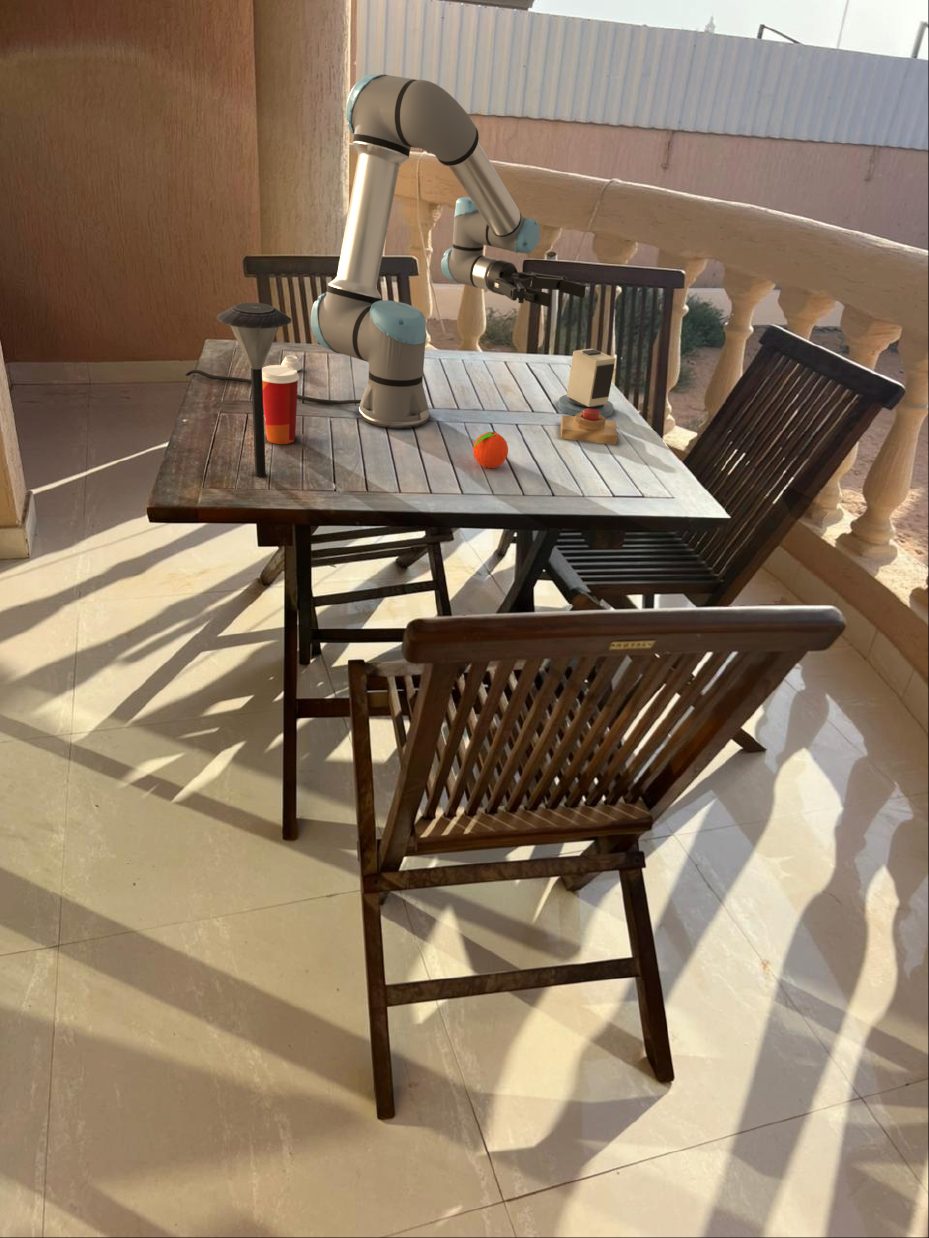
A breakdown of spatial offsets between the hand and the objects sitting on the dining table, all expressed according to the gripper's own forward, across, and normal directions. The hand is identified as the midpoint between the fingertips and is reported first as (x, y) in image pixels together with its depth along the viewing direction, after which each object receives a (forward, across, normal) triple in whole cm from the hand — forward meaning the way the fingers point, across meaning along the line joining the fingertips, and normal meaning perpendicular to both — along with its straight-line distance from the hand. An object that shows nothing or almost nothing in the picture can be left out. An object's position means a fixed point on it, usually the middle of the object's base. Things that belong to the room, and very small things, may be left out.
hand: (567, 296), depth 200 cm
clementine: (+18, +46, -23) cm, 54 cm away
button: (+19, +13, -20) cm, 31 cm away
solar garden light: (-6, +84, -22) cm, 86 cm away
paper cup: (-17, +70, -22) cm, 75 cm away
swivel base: (+9, 0, -24) cm, 26 cm away
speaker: (+9, 0, -22) cm, 24 cm away
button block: (+20, +14, -24) cm, 33 cm away
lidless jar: (-51, +40, -23) cm, 69 cm away
